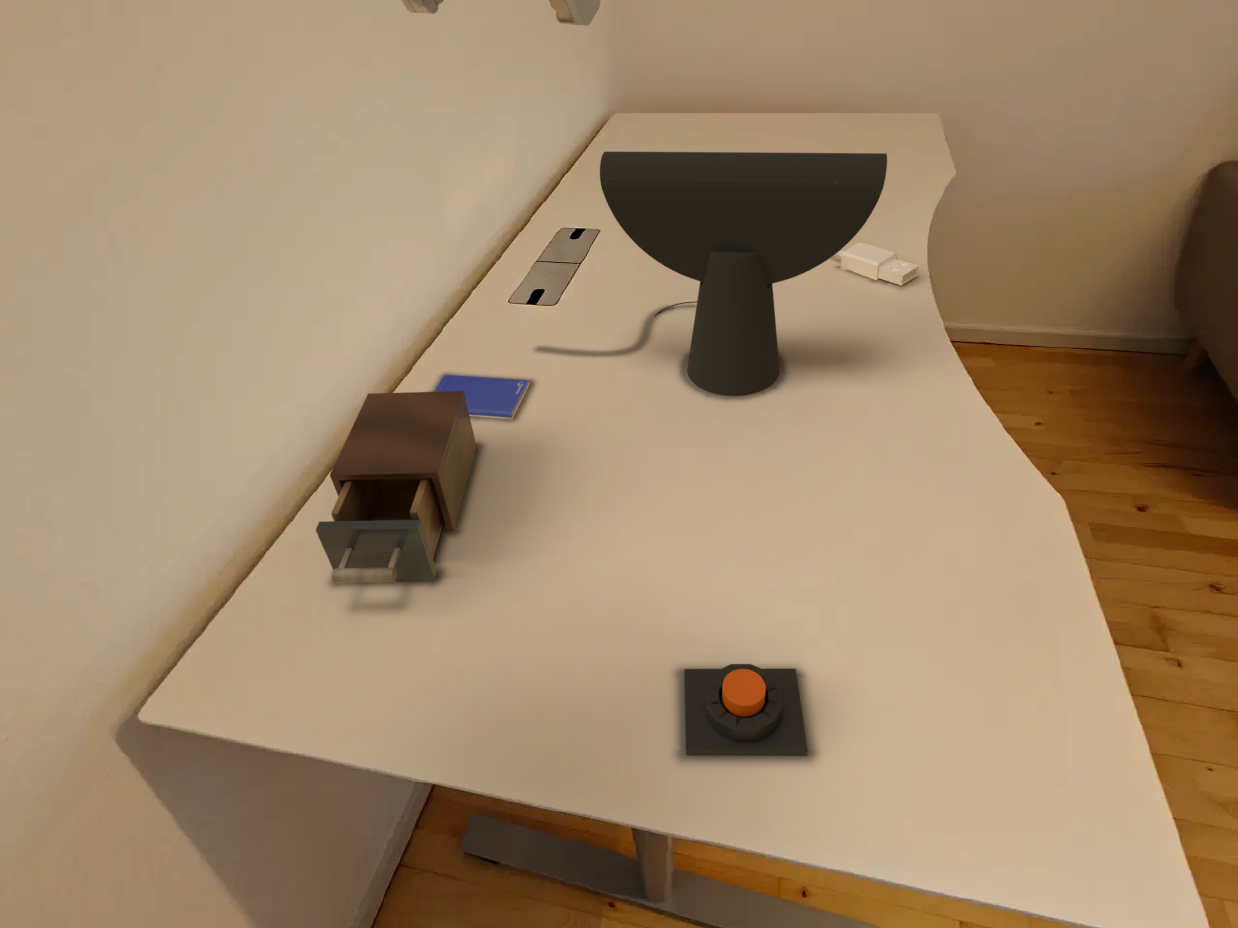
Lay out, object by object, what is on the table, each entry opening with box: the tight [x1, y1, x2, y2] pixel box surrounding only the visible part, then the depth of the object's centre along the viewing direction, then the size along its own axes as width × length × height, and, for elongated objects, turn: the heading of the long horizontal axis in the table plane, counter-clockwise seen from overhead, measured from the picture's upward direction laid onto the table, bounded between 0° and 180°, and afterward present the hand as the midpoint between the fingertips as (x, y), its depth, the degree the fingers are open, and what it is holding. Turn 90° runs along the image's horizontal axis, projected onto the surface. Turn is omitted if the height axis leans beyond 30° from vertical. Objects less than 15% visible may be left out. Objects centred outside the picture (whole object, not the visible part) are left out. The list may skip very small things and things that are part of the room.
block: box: [683, 663, 808, 757], centre depth 70 cm, size 8×10×4 cm
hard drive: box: [433, 374, 531, 420], centre depth 109 cm, size 2×8×12 cm
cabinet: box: [329, 391, 478, 533], centre depth 93 cm, size 15×12×10 cm
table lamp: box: [599, 151, 888, 397], centre depth 104 cm, size 40×28×30 cm
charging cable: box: [835, 241, 920, 286], centre depth 134 cm, size 5×32×3 cm, turn 41°
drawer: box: [315, 478, 445, 584], centre depth 86 cm, size 18×10×8 cm, turn 177°
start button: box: [722, 669, 766, 717], centre depth 69 cm, size 4×4×2 cm
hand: (502, 10), depth 40 cm, fingers open, 8 cm apart
